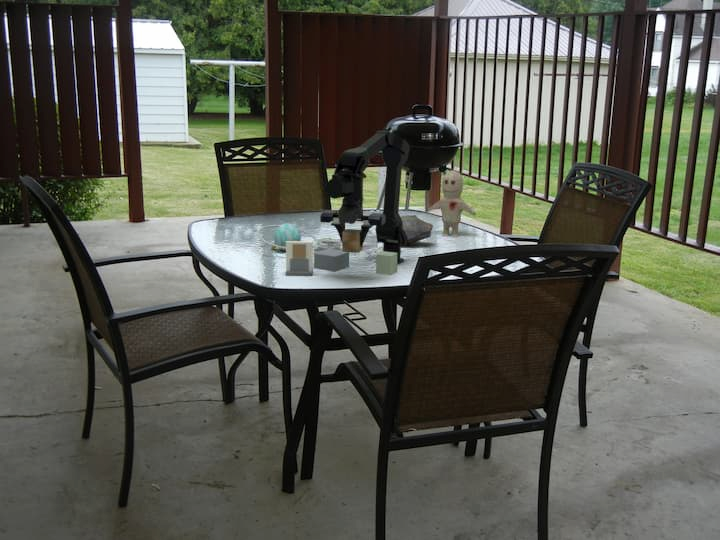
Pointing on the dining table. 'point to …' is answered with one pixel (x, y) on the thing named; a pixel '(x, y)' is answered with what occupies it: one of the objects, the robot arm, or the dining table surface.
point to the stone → (416, 228)
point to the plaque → (299, 258)
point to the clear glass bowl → (285, 235)
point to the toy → (452, 202)
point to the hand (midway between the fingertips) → (352, 246)
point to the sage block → (386, 263)
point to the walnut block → (351, 240)
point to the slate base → (331, 260)
